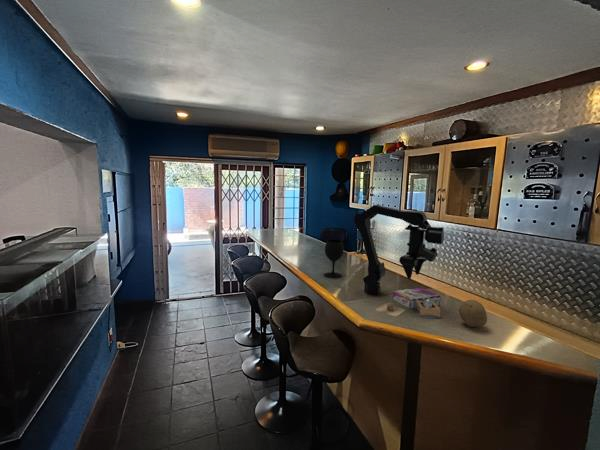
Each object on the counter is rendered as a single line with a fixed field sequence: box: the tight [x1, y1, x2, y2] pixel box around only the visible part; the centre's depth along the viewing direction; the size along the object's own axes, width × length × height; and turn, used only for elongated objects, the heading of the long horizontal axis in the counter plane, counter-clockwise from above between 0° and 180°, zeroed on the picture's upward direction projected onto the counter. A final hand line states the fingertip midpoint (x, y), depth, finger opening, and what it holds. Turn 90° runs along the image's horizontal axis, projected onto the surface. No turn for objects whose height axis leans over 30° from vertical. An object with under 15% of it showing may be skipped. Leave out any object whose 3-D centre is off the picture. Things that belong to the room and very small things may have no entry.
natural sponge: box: [458, 299, 488, 328], centre depth 109 cm, size 9×9×10 cm
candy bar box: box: [392, 287, 442, 310], centre depth 129 cm, size 11×5×16 cm
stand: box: [374, 302, 406, 317], centre depth 119 cm, size 9×9×3 cm
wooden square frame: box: [415, 301, 442, 318], centre depth 116 cm, size 7×7×3 cm
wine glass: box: [323, 239, 344, 279], centre depth 165 cm, size 10×10×20 cm
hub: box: [413, 299, 442, 320], centre depth 116 cm, size 10×10×7 cm
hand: (413, 276), depth 126 cm, fingers open, 9 cm apart
